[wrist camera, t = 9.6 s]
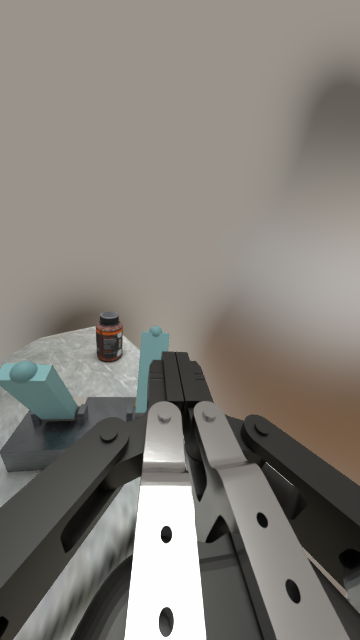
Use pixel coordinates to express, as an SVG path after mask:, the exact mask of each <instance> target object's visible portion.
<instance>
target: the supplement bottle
mask: <svg viewBox="0 0 360 640" xmlns="http://www.w3.org/2000/svg"><path fill="white" fill-rule="evenodd" d="M122 333H123V326H122V323H121V322H120V321H119V316H118V314H117V313H115V312H104V313H102V314H101V315H100V321H99V322H98V323H97V325H96V341H97V356H98V358H99V359H101V360H103V361H114V360H117V359H118V358H120V357H121V355H122Z"/></svg>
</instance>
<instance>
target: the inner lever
mask: <svg viewBox="0 0 360 640" xmlns="http://www.w3.org/2000/svg"><path fill="white" fill-rule="evenodd" d="M0 386H1V387H2V388H4V389H5V390H6V391H7V392H9V393H10V394H11V395H12V396H13V397H15V398H16V399H17V400H18V401H20V402H21V403H22V404H23V405H24V406H26V407H27V408H28V409H29V410H31V411H32V412H33V413H34V414H35V415H37V416H38V417H39V418H40V419H41V420H42V421H76V420H77V418H78V416H77V413H78V411H79V406H78V405H77V404H76V402H75V401H74V399H73V397H72V396H71V394H70V393H69V391H68V389H67V388H66V386H65V385H64V383H63V381H62V380H61V378H60V377H59V375H58V373H57V372H56V370H55V369H54V367H53V365H36V364H35V363H33V362H31V361H22V362H19V363H17V364H6V363H4V365H3V366H2V368H1V369H0Z"/></svg>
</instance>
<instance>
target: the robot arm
mask: <svg viewBox="0 0 360 640" xmlns="http://www.w3.org/2000/svg"><path fill="white" fill-rule="evenodd" d="M183 435H184V440H185V444H184V443H183ZM266 462H267V463H268V464H269V465H270V466H272V467H273V468H274V469H275V470H276V471H277V472H279V473H280V474H281V475H282V476H283V477H284V478H286V479H287V480H288V481H289V482H290V483H291V484H293V485H294V486H295V487H294V486H293V485H291V484H290V483H289V482H288V481H287V480H285V479H284V478H283V477H282V476H281V475H280V474H278V473H277V472H276V471H275V470H274V469H273V468H271V467H270V466H269V465H268V464H267V463H266ZM185 463H186V466H185ZM186 468H187V470H186ZM140 476H141V480H140V490H139V499H138V508H137V517H136V526H135V536H134V545H133V554H132V555H131V556H129V557H128V558H127V559H125V560H124V561H123V562H122V563H120V565H119V566H118V567H117V568H116V569H115V570H114V571H113V572H112V573H111V574H110V575H109V576H108V578H107V579H106V580H105V581H104V583H103V584H102V585H101V587H100V588H99V590H98V591H97V593H96V594H95V596H94V597H93V599H92V601H91V603H90V604H89V606H88V608H87V610H86V612H85V613H84V615H83V617H82V619H81V621H80V623H79V625H78V626H77V628H76V630H75V632H74V634H73V636H72V637H71V639H70V640H360V486H359V485H357V484H356V483H355V482H353V481H352V480H350V479H349V478H348V477H346V476H345V475H343V474H342V473H340V472H339V471H338V470H336V469H335V468H334V467H332V466H331V465H329V464H328V463H327V462H325V461H324V460H322V459H321V458H320V457H318V456H317V455H316V454H314V453H313V452H311V451H310V450H308V449H307V448H306V447H304V446H303V445H302V444H300V443H299V442H297V441H296V440H294V439H293V438H292V437H290V436H289V435H288V434H286V433H285V432H283V431H282V430H281V429H279V428H278V427H276V426H275V425H274V424H272V423H271V422H269V421H268V420H267V419H265V418H263V417H261V416H259V415H249V416H247V417H246V418H245V420H244V421H243V420H239V419H236V418H233V417H230V416H227V415H225V414H224V413H223V411H222V409H221V408H220V407H219V406H217V405H216V404H214V402H213V399H212V397H211V394H210V391H209V388H208V385H207V383H206V381H205V377H204V375H203V372H202V369H201V367H200V366H199V365H198V363H197V362H196V361H190V360H189V357H188V353H187V352H167V351H162V355H161V360H153V361H152V362H151V364H150V365H149V374H148V383H147V410H146V412H145V413H144V414H143V415H142V416H140V417H139V418H137V419H134V420H132V421H129V422H125V421H124V420H123V419H121V418H117V417H109V418H105V419H103V420H101V421H99V422H98V423H97V424H96V425H94V426H93V427H92V428H91V429H90V430H89V431H88V432H86V433H85V434H84V435H83V436H82V437H81V438H80V439H78V440H77V441H76V442H75V443H74V444H73V445H72V446H70V447H69V448H68V449H67V450H66V451H65V452H64V453H62V454H61V455H60V456H59V457H58V458H57V459H56V460H54V461H53V462H52V463H51V464H50V465H49V466H48V467H46V468H45V469H44V470H43V471H42V472H41V473H40V474H38V475H37V476H36V477H35V478H34V479H33V480H32V481H30V482H29V483H28V484H27V485H26V486H25V487H24V488H22V489H21V490H20V491H19V492H18V493H17V494H16V495H14V496H13V497H12V498H11V499H10V500H9V501H8V502H6V503H5V504H4V505H3V506H2V507H1V508H0V640H13V639H14V637H15V636H16V635H17V633H18V632H19V630H20V629H21V628H22V626H23V625H24V623H25V622H26V621H27V619H28V618H29V616H30V615H31V614H32V612H33V611H34V610H35V608H36V607H37V605H38V604H39V603H40V601H41V600H42V598H43V597H44V596H45V594H46V593H47V591H48V590H49V589H50V587H51V586H52V585H53V583H54V582H55V580H56V579H57V578H58V576H59V575H60V573H61V572H62V571H63V569H64V568H65V566H66V565H67V564H68V562H69V561H70V559H71V558H72V557H73V555H74V554H75V553H76V551H77V550H78V548H79V547H80V546H81V544H82V543H83V541H84V540H85V539H86V537H87V536H88V534H89V533H90V532H91V530H92V529H93V527H94V526H95V525H96V523H97V522H98V521H99V519H100V518H101V516H102V515H103V514H104V512H105V511H106V509H107V508H108V507H109V505H110V504H111V502H112V501H113V500H114V498H115V497H116V495H117V494H118V493H119V491H120V490H121V489H122V487H123V485H124V484H126V483H128V482H130V481H132V480H134V479H136V478H138V477H140ZM192 496H193V498H192ZM193 501H194V507H195V519H194V509H193ZM196 535H197V539H196ZM197 540H198V541H197ZM301 546H302V547H303V548H304V549H305V550H306V551H307V552H308V553H310V555H311V556H313V558H314V559H315V560H316V561H317V562H318V563H319V564H320V565H321V566H322V567H323V568H324V569H325V570H326V571H327V572H328V573H329V574H330V575H331V576H332V577H333V578H334V579H335V580H336V581H337V582H338V583H339V584H340V585H341V586H342V587H343V588H344V589H345V590H346V592H347V595H346V597H344V596H343V595H342V594H341V593H340V592H339V591H338V590H337V589H336V587H335V586H334V585H333V584H332V583H331V582H330V581H329V580H328V579H327V578H326V577H325V576H324V575H323V574H322V572H321V571H320V570H319V569H318V568H317V567H316V566H315V565H314V564H313V563H312V562H311V561H310V560H309V559H308V558H307V556H306V554H305V552H304V550H303V549H302V547H301Z"/></svg>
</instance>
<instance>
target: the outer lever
mask: <svg viewBox="0 0 360 640" xmlns="http://www.w3.org/2000/svg"><path fill="white" fill-rule="evenodd" d="M168 345H169V333H162V330H161V328H160V327H158V326H153V327H151V328H150V330H149V332H144V331H143V332H142V338H141V350H140V362H139V375H138V387H137V399H136V411H135V419H137V418H139V417H140V416H142V415H143V414H144V413H145V412H146V410H147V383H148V374H149V365H150V364H151V362H152V361H153V360H161V355H162V351H167V352H168Z"/></svg>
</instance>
